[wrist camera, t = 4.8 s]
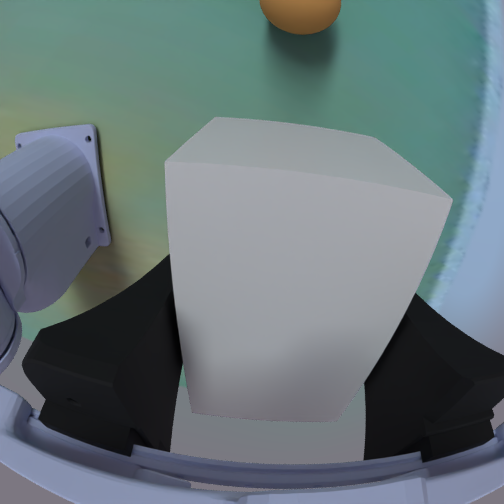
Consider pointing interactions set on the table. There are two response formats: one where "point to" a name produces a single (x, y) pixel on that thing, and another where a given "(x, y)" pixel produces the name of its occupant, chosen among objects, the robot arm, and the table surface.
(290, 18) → the ball
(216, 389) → the off-white rectangular block
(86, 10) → the table surface
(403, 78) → the table surface
